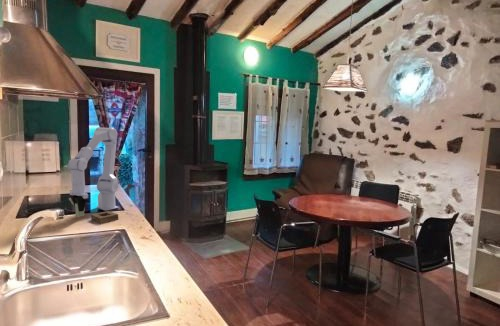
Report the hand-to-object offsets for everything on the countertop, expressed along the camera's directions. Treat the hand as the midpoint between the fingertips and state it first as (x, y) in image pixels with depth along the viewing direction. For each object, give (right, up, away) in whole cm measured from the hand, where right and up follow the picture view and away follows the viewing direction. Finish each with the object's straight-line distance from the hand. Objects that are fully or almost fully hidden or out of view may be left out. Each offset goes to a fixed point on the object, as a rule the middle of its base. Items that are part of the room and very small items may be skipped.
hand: (79, 210), depth 163 cm
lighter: (-8, -3, +13) cm, 16 cm away
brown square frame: (+12, -5, +1) cm, 13 cm away
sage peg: (0, -3, 0) cm, 3 cm away
